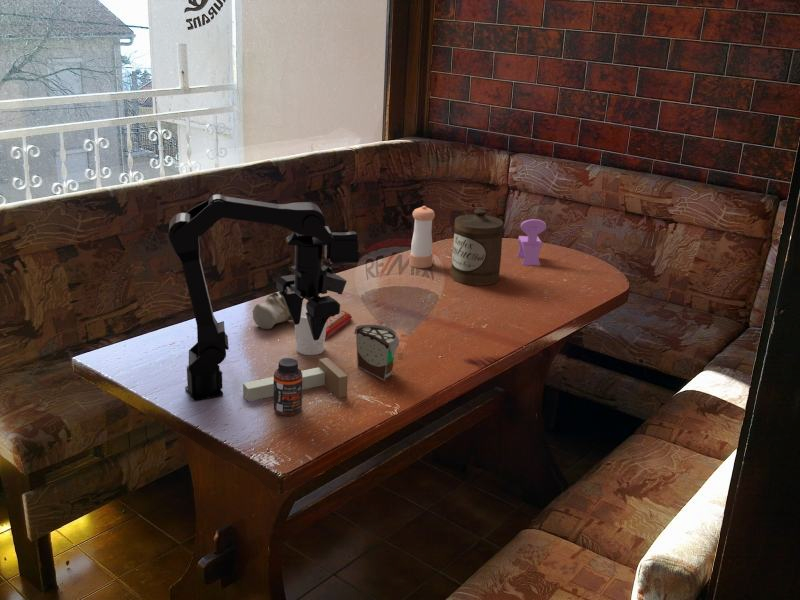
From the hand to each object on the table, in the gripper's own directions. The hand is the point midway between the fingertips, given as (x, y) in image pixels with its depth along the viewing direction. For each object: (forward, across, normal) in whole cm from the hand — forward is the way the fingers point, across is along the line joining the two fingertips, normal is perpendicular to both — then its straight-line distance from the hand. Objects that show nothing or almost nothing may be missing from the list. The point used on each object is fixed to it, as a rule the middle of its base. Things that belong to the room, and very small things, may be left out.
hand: (306, 331), depth 181 cm
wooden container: (+12, +40, -79) cm, 89 cm away
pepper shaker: (+13, +57, -70) cm, 92 cm away
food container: (+13, -1, -19) cm, 23 cm away
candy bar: (+14, +25, -21) cm, 36 cm away
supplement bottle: (+14, -8, +8) cm, 18 cm away
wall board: (+13, -3, +4) cm, 14 cm away
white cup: (+13, +16, -10) cm, 23 cm away
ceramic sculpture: (+14, +35, -10) cm, 39 cm away
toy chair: (+12, +45, -105) cm, 115 cm away
